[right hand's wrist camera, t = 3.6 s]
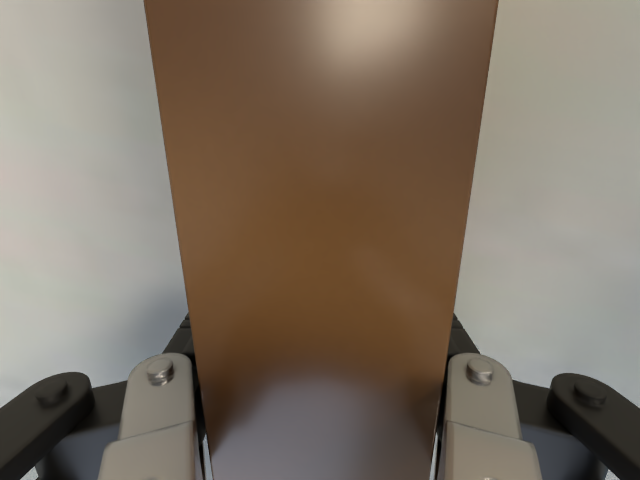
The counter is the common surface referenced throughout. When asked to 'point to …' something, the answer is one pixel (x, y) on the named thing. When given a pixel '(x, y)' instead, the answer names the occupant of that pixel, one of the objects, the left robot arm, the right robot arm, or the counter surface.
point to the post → (321, 220)
